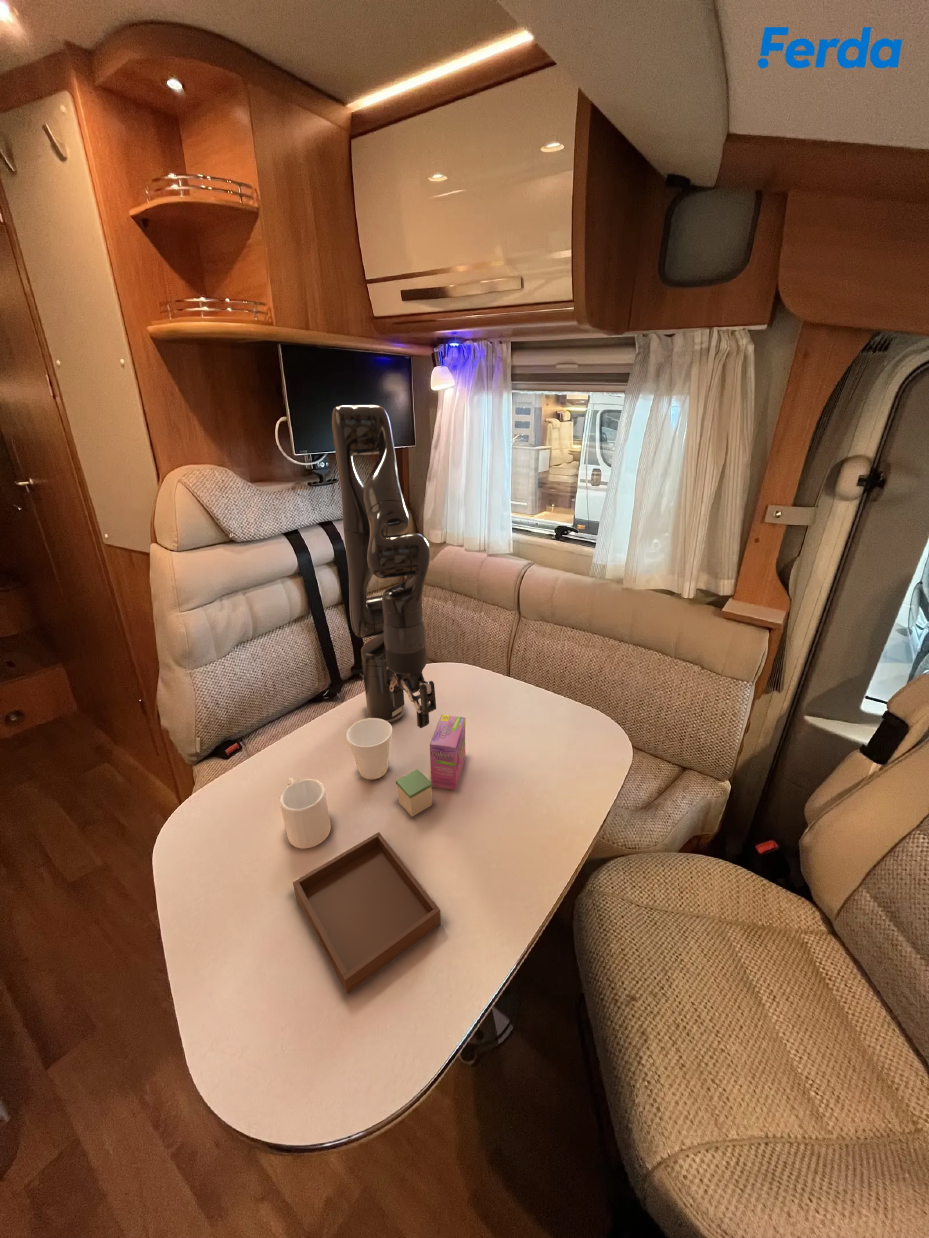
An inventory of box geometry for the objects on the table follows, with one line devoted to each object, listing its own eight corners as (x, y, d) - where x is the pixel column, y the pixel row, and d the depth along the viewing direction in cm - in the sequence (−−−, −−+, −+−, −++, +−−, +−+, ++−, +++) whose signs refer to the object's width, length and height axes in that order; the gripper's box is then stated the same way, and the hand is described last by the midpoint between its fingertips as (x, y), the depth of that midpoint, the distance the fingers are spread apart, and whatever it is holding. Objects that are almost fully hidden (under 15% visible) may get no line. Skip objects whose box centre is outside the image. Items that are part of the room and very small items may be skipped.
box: (456, 790, 107) (455, 747, 102) (430, 787, 108) (428, 743, 103) (466, 758, 116) (465, 716, 111) (442, 755, 117) (440, 713, 112)
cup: (342, 771, 112) (336, 732, 107) (377, 750, 119) (373, 712, 114) (369, 794, 106) (364, 753, 101) (405, 769, 113) (401, 730, 108)
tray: (295, 894, 85) (292, 881, 84) (380, 843, 95) (379, 831, 93) (347, 994, 71) (344, 980, 70) (441, 923, 81) (440, 909, 79)
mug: (313, 797, 105) (306, 761, 101) (337, 834, 97) (331, 796, 92) (275, 816, 101) (266, 779, 97) (297, 856, 92) (288, 817, 88)
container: (397, 802, 104) (395, 780, 101) (419, 790, 107) (417, 768, 104) (411, 818, 100) (409, 795, 98) (433, 805, 103) (432, 783, 101)
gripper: (445, 649, 88) (448, 725, 95) (401, 624, 98) (406, 693, 105) (409, 663, 84) (415, 741, 90) (367, 635, 94) (375, 707, 101)
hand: (410, 715), depth 98 cm, fingers open, 8 cm apart
